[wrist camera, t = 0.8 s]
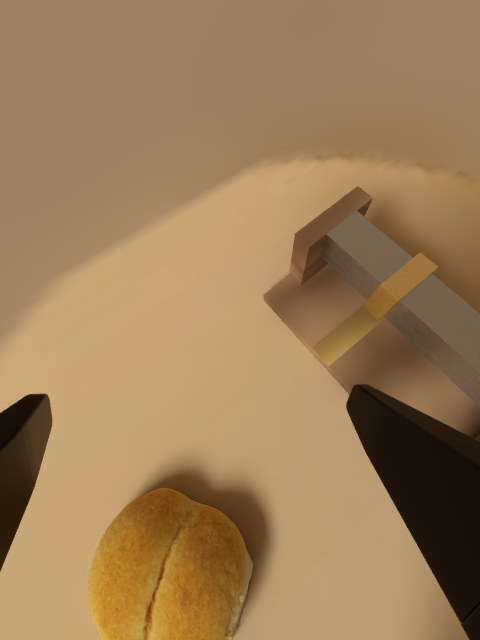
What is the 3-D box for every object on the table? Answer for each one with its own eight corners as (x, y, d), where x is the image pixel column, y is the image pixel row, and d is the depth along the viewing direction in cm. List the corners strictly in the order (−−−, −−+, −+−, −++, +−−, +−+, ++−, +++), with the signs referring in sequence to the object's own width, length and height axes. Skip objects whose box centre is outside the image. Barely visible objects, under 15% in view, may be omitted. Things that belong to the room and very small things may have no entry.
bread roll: (138, 469, 20) (107, 481, 16) (265, 523, 18) (264, 550, 15) (80, 613, 18) (29, 665, 14) (219, 689, 16) (204, 772, 12)
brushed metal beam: (621, 473, 14) (707, 487, 12) (582, 516, 14) (661, 541, 11) (342, 229, 20) (354, 197, 17) (309, 254, 20) (316, 227, 17)
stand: (602, 433, 18) (762, 440, 12) (491, 550, 17) (610, 621, 11) (358, 225, 24) (387, 163, 18) (263, 300, 23) (262, 258, 17)
